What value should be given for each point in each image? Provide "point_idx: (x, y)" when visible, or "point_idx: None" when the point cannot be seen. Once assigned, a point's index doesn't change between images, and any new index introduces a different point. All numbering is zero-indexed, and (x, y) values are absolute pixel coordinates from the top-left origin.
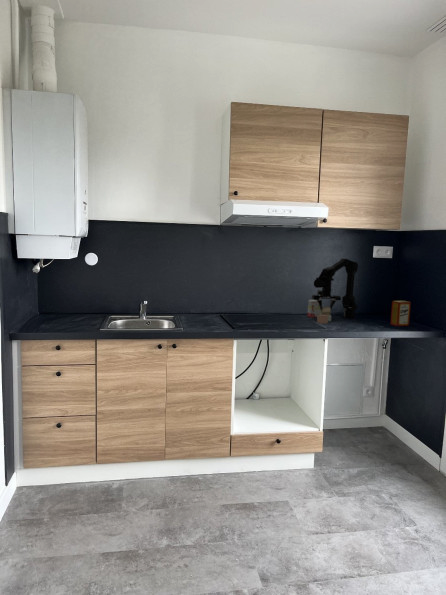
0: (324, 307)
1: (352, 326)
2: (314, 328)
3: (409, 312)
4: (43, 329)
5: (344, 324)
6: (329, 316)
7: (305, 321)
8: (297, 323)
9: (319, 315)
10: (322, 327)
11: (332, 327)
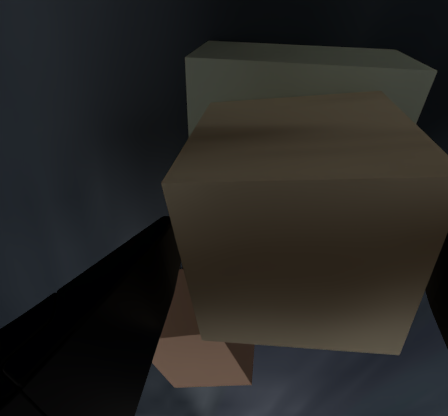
0: (247, 299)
1: (426, 400)
2: (142, 413)
3: None
4: None
5: (405, 349)
6: None
7: (54, 252)
8: None
9: (156, 366)
10: (187, 403)
11: (249, 407)
